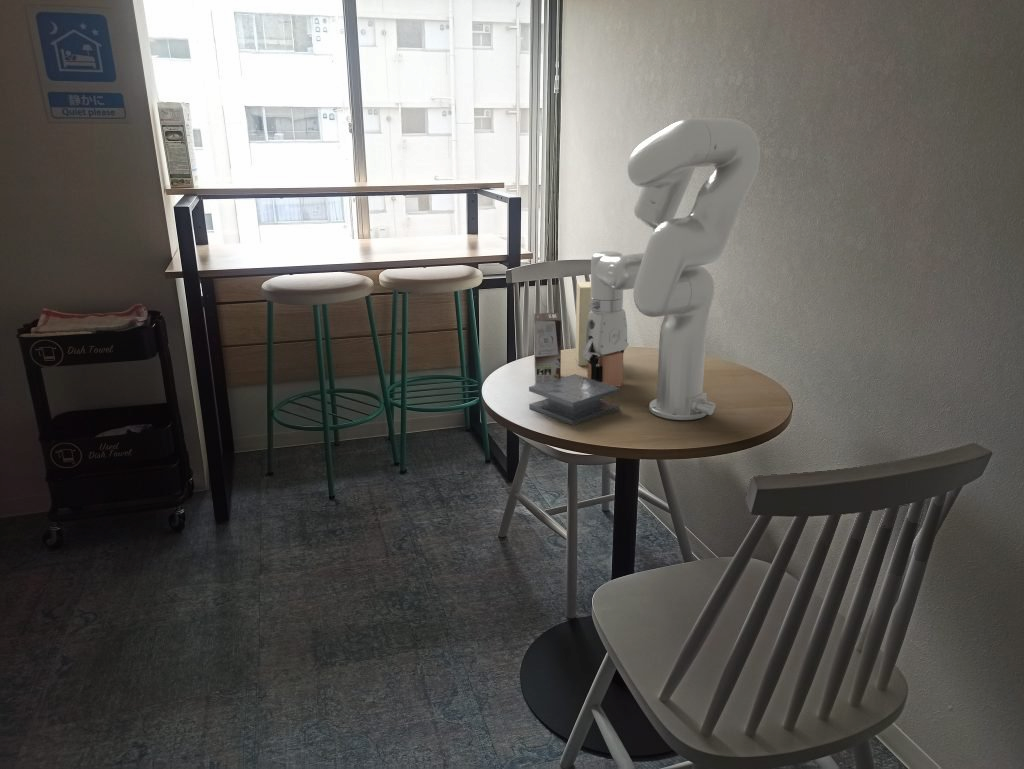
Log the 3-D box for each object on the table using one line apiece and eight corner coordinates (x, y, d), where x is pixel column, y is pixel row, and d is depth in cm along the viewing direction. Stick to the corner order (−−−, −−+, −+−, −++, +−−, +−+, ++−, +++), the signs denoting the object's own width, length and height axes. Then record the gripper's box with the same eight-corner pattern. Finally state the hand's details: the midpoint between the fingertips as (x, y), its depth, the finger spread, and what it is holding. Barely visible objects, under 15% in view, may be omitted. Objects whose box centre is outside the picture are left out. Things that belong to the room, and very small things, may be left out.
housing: (622, 384, 175) (623, 349, 172) (608, 389, 172) (608, 352, 169) (601, 378, 180) (602, 343, 177) (587, 382, 177) (587, 347, 174)
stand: (619, 409, 158) (619, 388, 157) (572, 425, 150) (573, 402, 149) (575, 394, 169) (575, 374, 167) (529, 408, 160) (529, 386, 159)
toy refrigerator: (606, 365, 191) (607, 286, 184) (578, 366, 191) (579, 287, 184) (602, 357, 198) (603, 281, 192) (575, 357, 198) (575, 281, 192)
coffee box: (561, 385, 176) (561, 320, 171) (534, 385, 176) (534, 320, 171) (559, 373, 184) (559, 311, 179) (534, 374, 185) (533, 312, 180)
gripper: (592, 313, 162) (591, 389, 168) (642, 302, 172) (640, 375, 178) (569, 308, 168) (568, 382, 173) (619, 297, 178) (617, 368, 184)
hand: (605, 378), depth 176 cm, fingers closed on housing, 5 cm apart
